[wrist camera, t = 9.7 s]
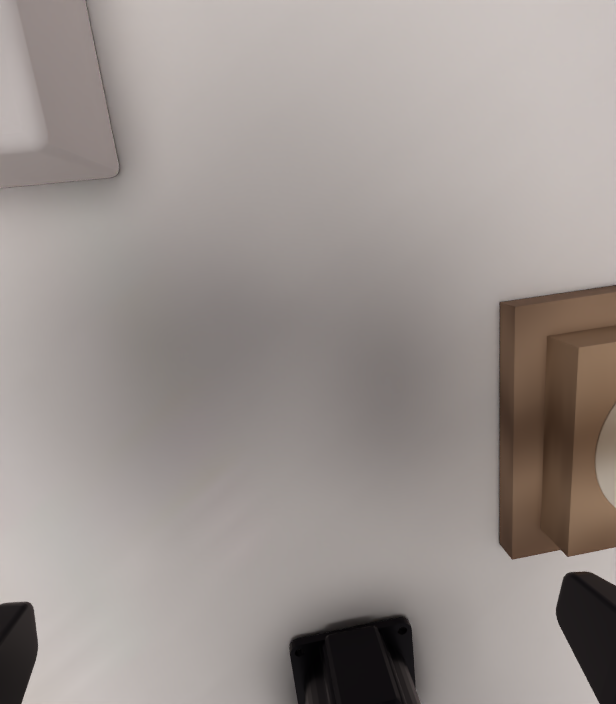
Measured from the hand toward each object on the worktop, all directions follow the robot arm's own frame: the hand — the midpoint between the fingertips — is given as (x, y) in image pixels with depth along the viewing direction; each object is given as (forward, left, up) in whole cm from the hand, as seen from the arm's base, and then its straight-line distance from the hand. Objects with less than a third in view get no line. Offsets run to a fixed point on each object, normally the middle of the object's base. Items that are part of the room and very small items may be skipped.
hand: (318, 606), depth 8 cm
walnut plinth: (-5, -17, -13) cm, 22 cm away
